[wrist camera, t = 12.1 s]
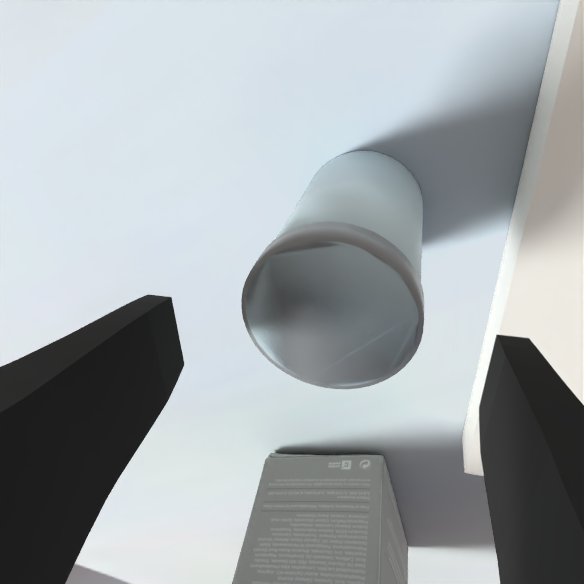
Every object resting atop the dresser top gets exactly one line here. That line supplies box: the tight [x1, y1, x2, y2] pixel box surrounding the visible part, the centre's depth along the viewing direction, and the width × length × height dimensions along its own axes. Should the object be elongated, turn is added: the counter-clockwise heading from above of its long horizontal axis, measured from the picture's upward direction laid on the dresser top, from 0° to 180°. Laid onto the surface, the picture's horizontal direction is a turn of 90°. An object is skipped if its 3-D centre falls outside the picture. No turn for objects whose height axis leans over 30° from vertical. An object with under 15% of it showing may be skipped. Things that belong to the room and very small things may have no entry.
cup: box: [242, 151, 424, 389], centre depth 14 cm, size 4×4×7 cm
